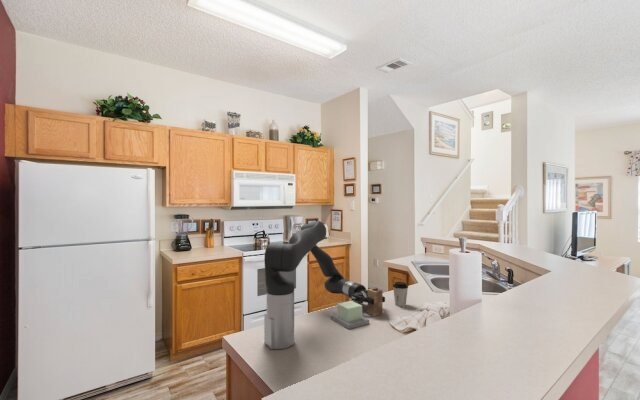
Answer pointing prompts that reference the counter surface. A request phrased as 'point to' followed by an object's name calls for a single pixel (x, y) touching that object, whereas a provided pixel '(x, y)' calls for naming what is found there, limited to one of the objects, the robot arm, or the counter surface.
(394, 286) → the coffee cup
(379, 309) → the walnut pillar block
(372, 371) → the counter surface
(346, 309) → the foundation
